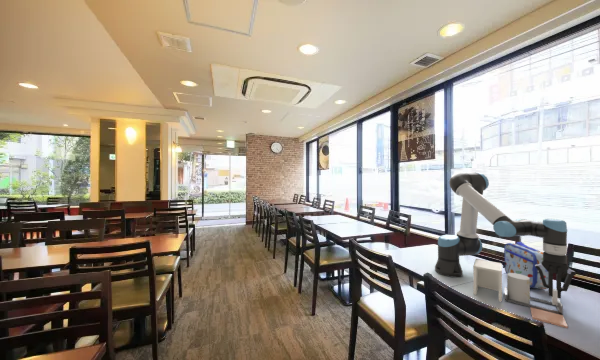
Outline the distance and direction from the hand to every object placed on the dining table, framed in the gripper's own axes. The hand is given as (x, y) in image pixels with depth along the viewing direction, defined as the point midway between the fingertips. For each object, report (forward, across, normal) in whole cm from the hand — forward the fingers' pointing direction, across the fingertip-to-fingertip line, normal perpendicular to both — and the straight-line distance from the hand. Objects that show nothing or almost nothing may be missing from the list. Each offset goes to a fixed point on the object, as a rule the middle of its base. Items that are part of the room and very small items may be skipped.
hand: (554, 303), depth 108 cm
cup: (+3, -12, 0) cm, 13 cm away
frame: (+2, -8, 0) cm, 8 cm away
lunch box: (+3, -8, +31) cm, 32 cm away
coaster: (+2, -4, -12) cm, 13 cm away
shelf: (+2, -24, 0) cm, 24 cm away
